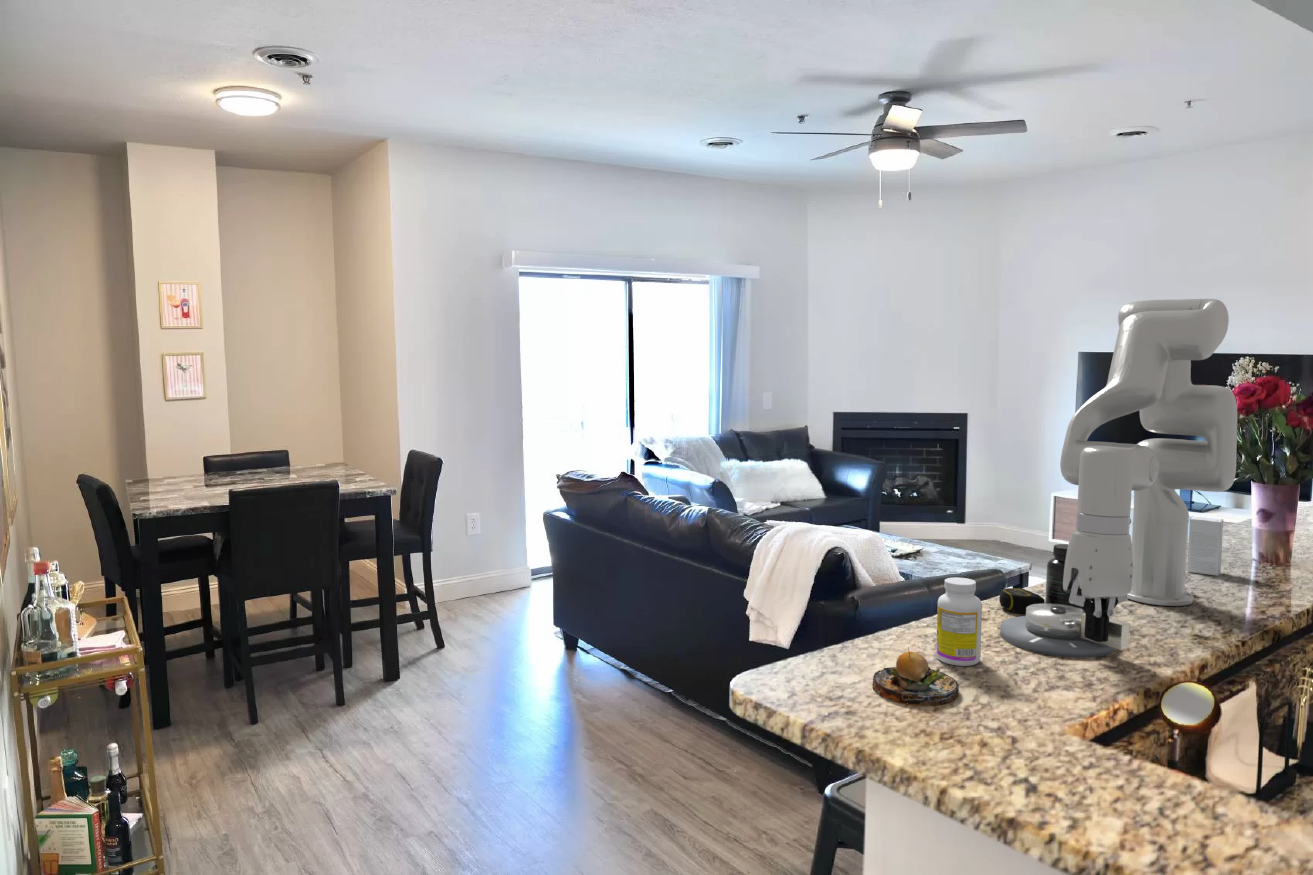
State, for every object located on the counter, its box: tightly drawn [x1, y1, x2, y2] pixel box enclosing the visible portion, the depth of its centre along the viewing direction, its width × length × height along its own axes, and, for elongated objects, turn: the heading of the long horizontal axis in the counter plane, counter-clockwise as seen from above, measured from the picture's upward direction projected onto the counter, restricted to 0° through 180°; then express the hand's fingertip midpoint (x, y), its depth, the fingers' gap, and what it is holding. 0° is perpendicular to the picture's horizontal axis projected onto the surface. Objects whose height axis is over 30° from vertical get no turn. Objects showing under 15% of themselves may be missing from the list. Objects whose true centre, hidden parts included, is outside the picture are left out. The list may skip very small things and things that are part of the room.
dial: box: [1025, 604, 1131, 651], centre depth 149 cm, size 17×10×4 cm, turn 30°
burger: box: [872, 646, 960, 707], centre depth 129 cm, size 12×12×8 cm
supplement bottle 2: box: [1044, 543, 1082, 609], centre depth 170 cm, size 7×7×12 cm
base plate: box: [999, 615, 1117, 659], centre depth 152 cm, size 18×18×2 cm
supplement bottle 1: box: [936, 576, 983, 667], centre depth 142 cm, size 7×7×13 cm
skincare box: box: [1187, 516, 1224, 577], centre depth 197 cm, size 6×4×12 cm
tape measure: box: [998, 587, 1046, 613], centre depth 169 cm, size 7×7×4 cm
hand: (1096, 639), depth 142 cm, fingers closed
